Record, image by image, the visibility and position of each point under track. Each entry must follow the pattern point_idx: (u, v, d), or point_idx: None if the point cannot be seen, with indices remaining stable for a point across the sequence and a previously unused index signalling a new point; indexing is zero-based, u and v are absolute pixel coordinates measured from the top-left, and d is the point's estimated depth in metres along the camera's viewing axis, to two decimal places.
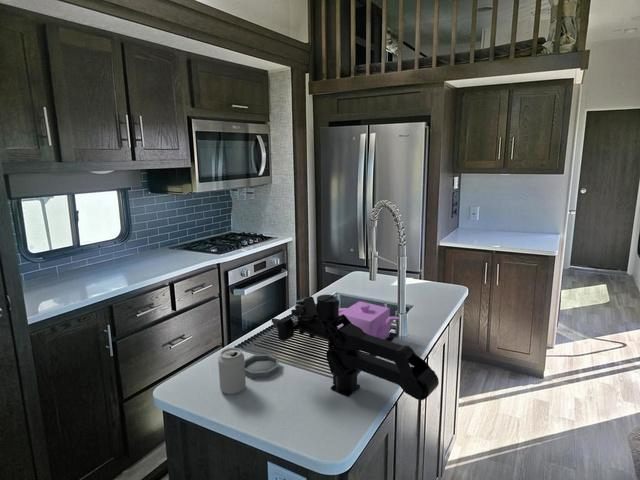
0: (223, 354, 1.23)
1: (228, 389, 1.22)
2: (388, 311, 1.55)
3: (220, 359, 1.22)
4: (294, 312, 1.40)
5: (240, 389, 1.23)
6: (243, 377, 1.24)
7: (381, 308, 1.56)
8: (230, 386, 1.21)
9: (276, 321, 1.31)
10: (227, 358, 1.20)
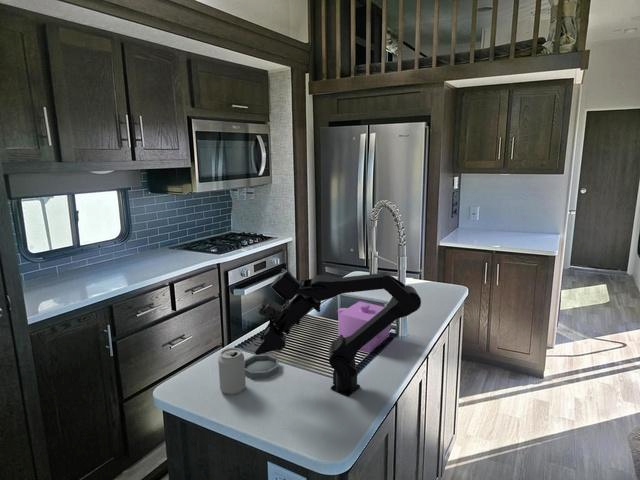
0: (223, 354, 1.23)
1: (228, 389, 1.22)
2: None
3: (220, 359, 1.22)
4: None
5: (240, 389, 1.23)
6: (243, 377, 1.24)
7: (381, 308, 1.56)
8: (230, 386, 1.21)
9: (261, 346, 1.17)
10: (227, 358, 1.20)
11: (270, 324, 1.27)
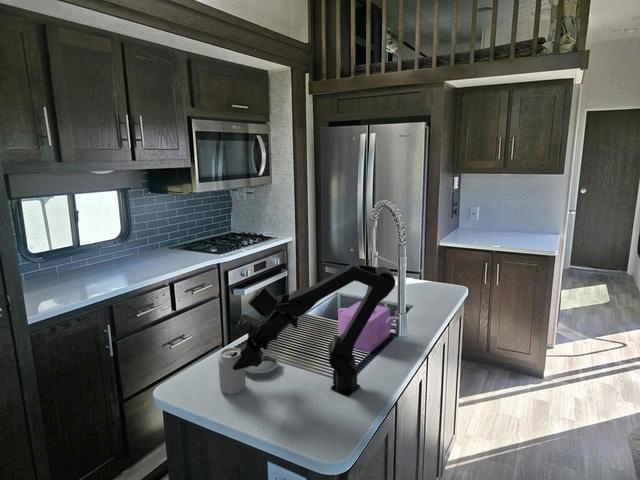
0: (223, 354, 1.23)
1: (228, 389, 1.22)
2: (388, 311, 1.55)
3: (220, 359, 1.21)
4: None
5: (240, 389, 1.23)
6: (243, 377, 1.24)
7: (381, 308, 1.56)
8: (230, 386, 1.21)
9: (238, 362, 1.18)
10: (227, 358, 1.20)
11: (249, 339, 1.28)
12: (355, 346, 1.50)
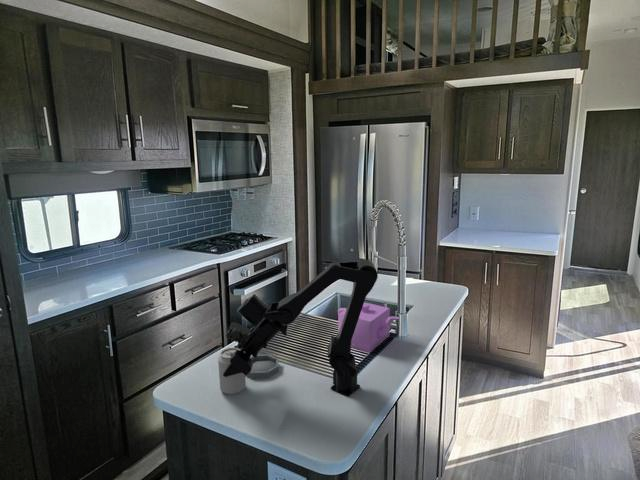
0: (223, 354, 1.23)
1: (228, 389, 1.22)
2: (388, 311, 1.55)
3: (220, 359, 1.21)
4: None
5: (240, 389, 1.23)
6: (243, 377, 1.24)
7: (381, 308, 1.56)
8: (230, 386, 1.21)
9: (228, 369, 1.19)
10: (227, 358, 1.20)
11: (239, 347, 1.27)
12: (355, 346, 1.50)
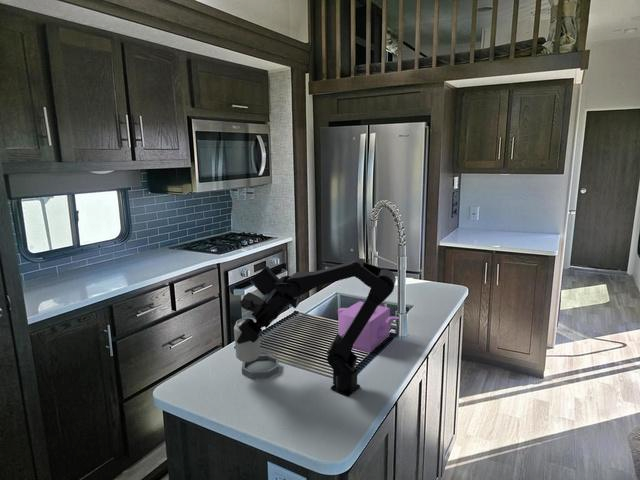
0: (239, 323, 1.29)
1: (242, 356, 1.27)
2: (388, 311, 1.55)
3: (235, 327, 1.28)
4: None
5: (253, 357, 1.28)
6: (256, 347, 1.28)
7: (381, 308, 1.56)
8: (243, 353, 1.27)
9: (241, 336, 1.24)
10: None
11: None
12: (355, 346, 1.50)
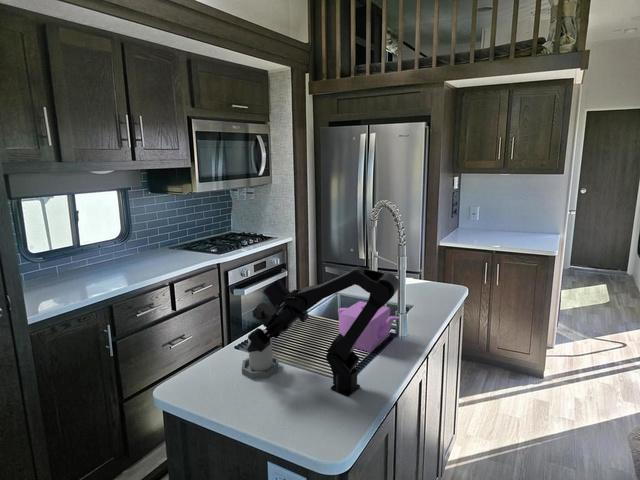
0: None
1: (253, 366, 1.33)
2: (388, 311, 1.56)
3: None
4: None
5: (264, 368, 1.33)
6: (268, 358, 1.33)
7: (381, 307, 1.56)
8: (255, 363, 1.33)
9: (250, 345, 1.29)
10: None
11: None
12: (356, 346, 1.50)
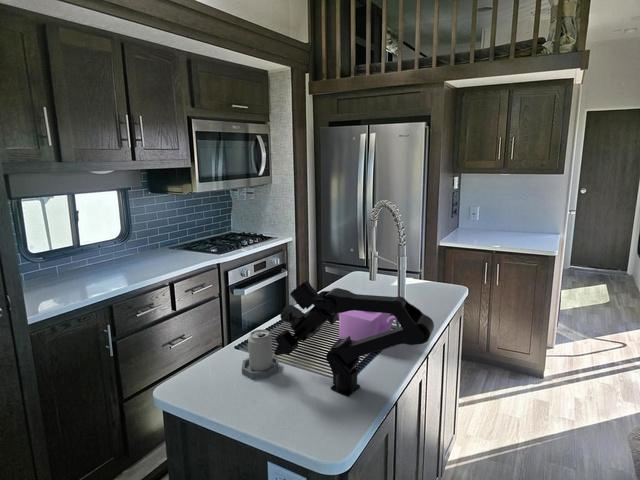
0: (253, 334, 1.35)
1: (253, 366, 1.33)
2: None
3: (249, 338, 1.33)
4: None
5: (264, 368, 1.33)
6: (268, 358, 1.33)
7: None
8: (255, 363, 1.33)
9: (277, 348, 1.26)
10: (253, 338, 1.31)
11: None
12: None
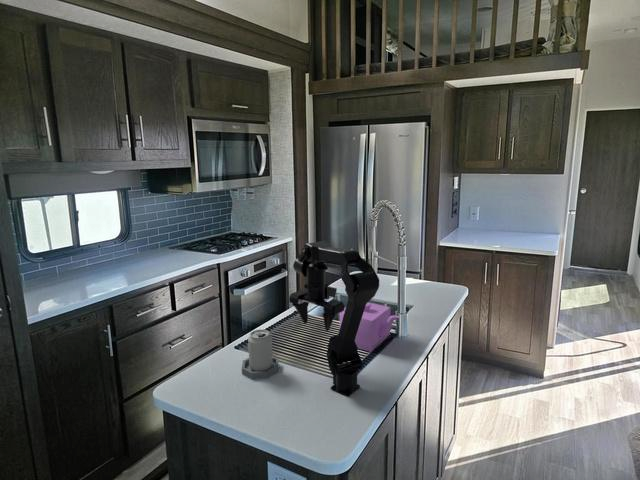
0: (253, 334, 1.35)
1: (253, 366, 1.33)
2: (389, 310, 1.56)
3: (249, 338, 1.33)
4: None
5: (264, 368, 1.33)
6: (268, 358, 1.33)
7: (382, 307, 1.57)
8: (255, 363, 1.33)
9: None
10: (253, 338, 1.31)
11: None
12: (357, 345, 1.50)
